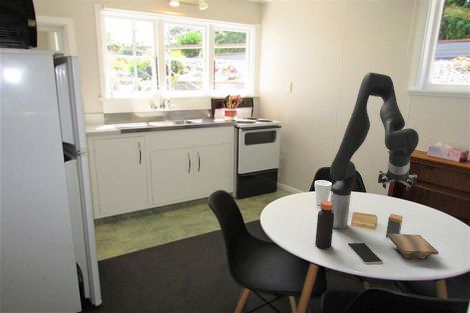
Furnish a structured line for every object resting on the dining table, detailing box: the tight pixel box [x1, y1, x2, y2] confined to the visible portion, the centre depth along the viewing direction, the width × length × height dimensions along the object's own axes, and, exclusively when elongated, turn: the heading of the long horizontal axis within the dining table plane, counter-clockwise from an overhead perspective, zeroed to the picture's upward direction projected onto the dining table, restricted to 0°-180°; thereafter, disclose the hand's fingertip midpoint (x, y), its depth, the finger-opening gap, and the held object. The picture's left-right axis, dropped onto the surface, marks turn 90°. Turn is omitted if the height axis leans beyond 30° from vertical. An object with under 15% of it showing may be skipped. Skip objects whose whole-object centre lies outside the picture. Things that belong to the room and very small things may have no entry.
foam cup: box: [314, 179, 333, 207], centre depth 180 cm, size 10×9×13 cm
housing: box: [385, 213, 404, 238], centre depth 143 cm, size 5×5×10 cm
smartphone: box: [347, 242, 383, 265], centre depth 130 cm, size 8×1×15 cm
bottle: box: [314, 200, 334, 250], centre depth 133 cm, size 7×7×20 cm
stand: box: [387, 233, 440, 259], centre depth 130 cm, size 14×14×5 cm
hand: (396, 187), depth 132 cm, fingers open, 8 cm apart
